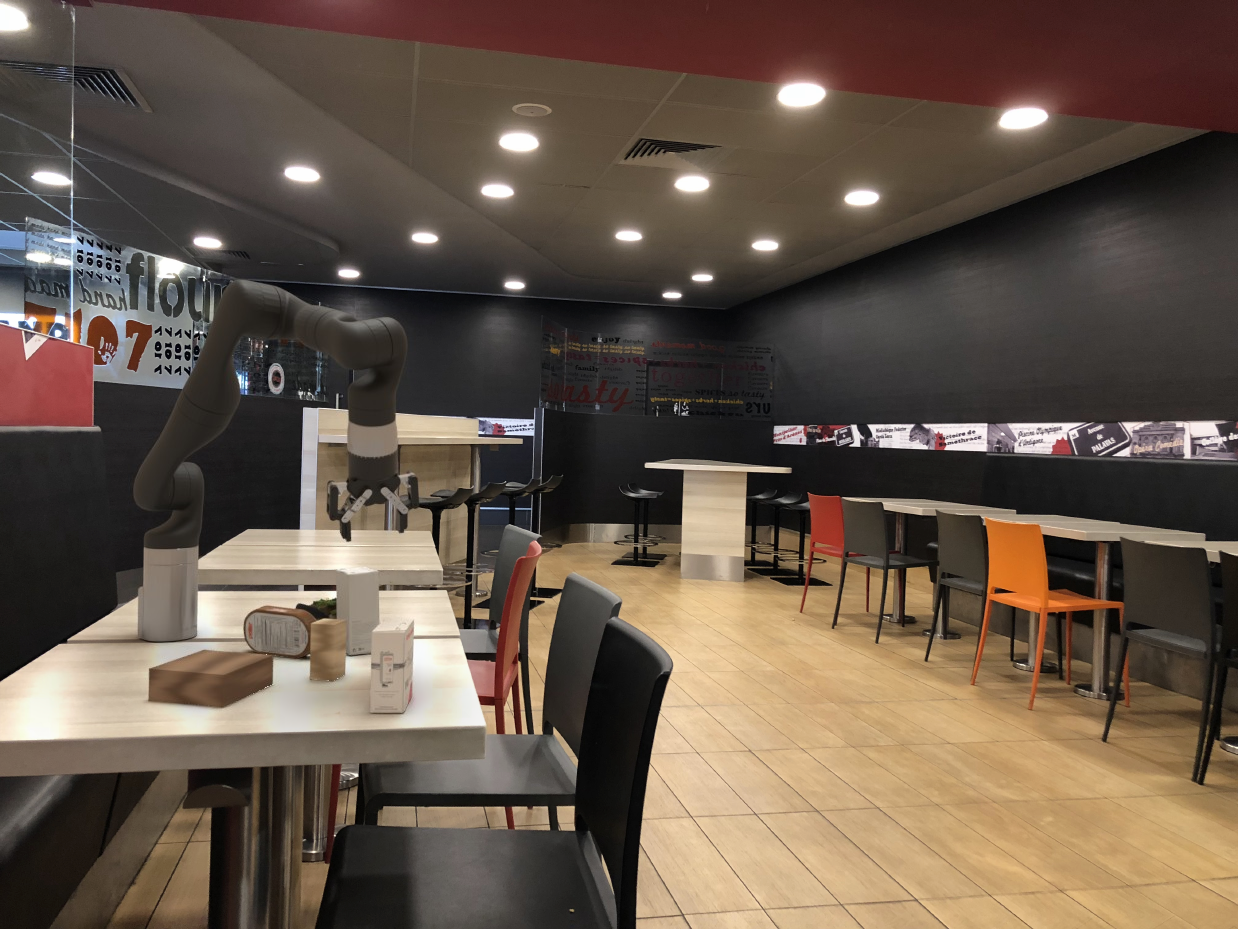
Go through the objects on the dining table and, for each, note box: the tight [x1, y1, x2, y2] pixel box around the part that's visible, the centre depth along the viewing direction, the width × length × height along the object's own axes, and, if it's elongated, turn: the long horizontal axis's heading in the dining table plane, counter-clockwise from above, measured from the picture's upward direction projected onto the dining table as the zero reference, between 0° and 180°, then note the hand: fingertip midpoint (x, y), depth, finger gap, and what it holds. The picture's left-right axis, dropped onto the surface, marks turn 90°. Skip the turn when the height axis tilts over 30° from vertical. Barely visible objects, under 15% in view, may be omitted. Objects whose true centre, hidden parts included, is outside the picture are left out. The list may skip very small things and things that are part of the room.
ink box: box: [369, 618, 415, 714], centre depth 124 cm, size 9×5×12 cm, turn 5°
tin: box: [242, 605, 316, 659], centre depth 150 cm, size 15×3×8 cm, turn 71°
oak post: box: [309, 619, 347, 682], centre depth 137 cm, size 4×4×9 cm
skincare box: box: [335, 566, 380, 656], centre depth 155 cm, size 8×6×15 cm
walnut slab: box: [147, 649, 274, 709], centre depth 127 cm, size 12×12×5 cm
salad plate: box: [294, 597, 337, 621], centre depth 184 cm, size 19×18×5 cm
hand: (374, 535), depth 139 cm, fingers open, 8 cm apart
